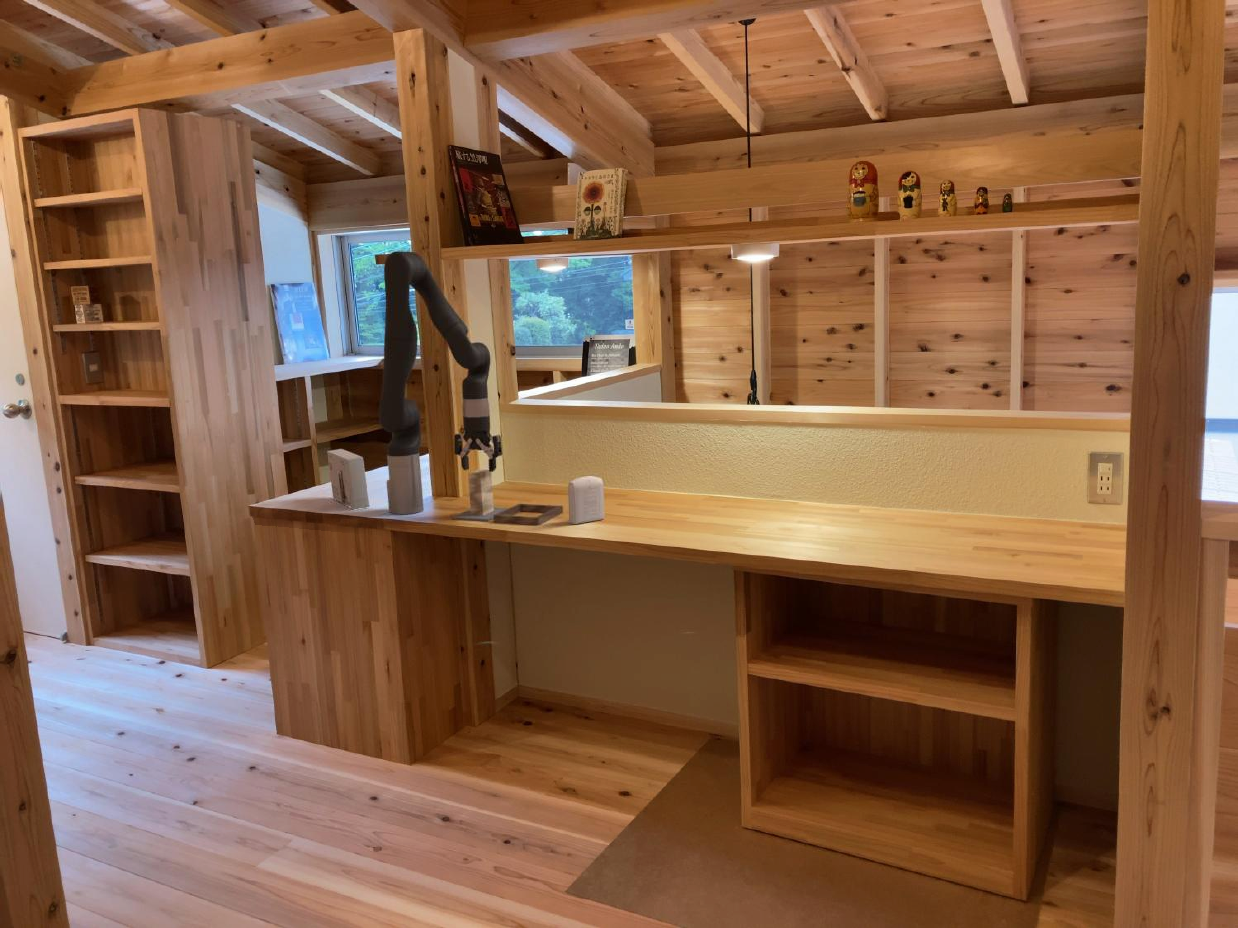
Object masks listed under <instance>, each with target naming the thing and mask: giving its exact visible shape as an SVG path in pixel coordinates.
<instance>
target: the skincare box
mask: <svg viewBox="0 0 1238 928" xmlns="http://www.w3.org/2000/svg"><path fill="white" fill-rule="evenodd" d="M326 454H327V461H328V469H329V476H330V484H331V492H332V499H333V498H334V499H336V500H337V501H336V500H335V501H336V502H338V501H340V502H342V503H344V504H345V505H347V506H350V507H351V508H353V509H358V510H360V509H359V508H364V509H367V508H366V507H369V508H370V501H369V493H368V485H367V479H366V471H365V470H366V469H365V461H364V457H363V456H360V455H358V454H355V453H353V452H351V451H348V450H345V449H343V448H338V449H332V450H327V451H326ZM334 499H333V500H334ZM340 502H339V503H340ZM342 503H341V504H342ZM344 504H343V505H344ZM345 505H344V506H345ZM347 506H346V507H347ZM351 508H350V509H351ZM353 509H352V510H353Z"/></svg>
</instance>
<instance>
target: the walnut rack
mask: <svg viewBox="0 0 1238 928" xmlns="http://www.w3.org/2000/svg"><path fill="white" fill-rule="evenodd" d="M563 507H564V506H563V505H554V504H553V505H552V504H551V505H550V504H536V503H535V504H533V503H517V504H515V505H512V506H511V507H508V508H509V509H506V510H504V511H502V512H500V513H498V514H495V515H493V516H494V519H493V523H499V524H515V525H527V526H528V525H529V526H540V525H542V524H544V523H546V522H547V521H550V520H551V519H554V518H556V517H557V516H559V515H561V514H563V513H564V508H563ZM521 512H529V513H532V512H533V513H542V514H540V515H538V516H525V515H524V516H523V515H516V514H518V513H521Z"/></svg>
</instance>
